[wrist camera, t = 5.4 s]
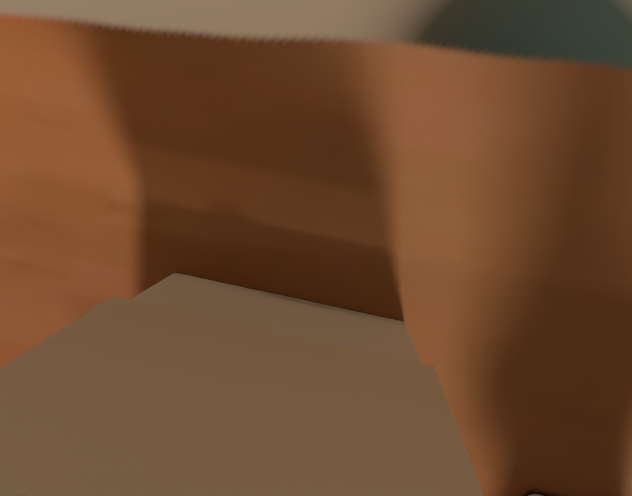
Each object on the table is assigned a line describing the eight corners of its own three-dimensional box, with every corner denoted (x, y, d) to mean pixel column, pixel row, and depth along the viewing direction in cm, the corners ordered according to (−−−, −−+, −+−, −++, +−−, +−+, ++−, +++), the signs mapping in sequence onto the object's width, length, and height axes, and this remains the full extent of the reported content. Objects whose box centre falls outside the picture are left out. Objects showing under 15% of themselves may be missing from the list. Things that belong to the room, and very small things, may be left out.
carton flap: (523, 628, 6) (532, 619, 6) (-128, 468, 6) (-135, 456, 6) (430, 373, 12) (433, 366, 12) (113, 303, 13) (112, 296, 13)
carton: (334, 550, 22) (332, 641, 18) (159, 507, 23) (116, 586, 19) (404, 321, 17) (425, 372, 13) (174, 272, 18) (120, 305, 13)
